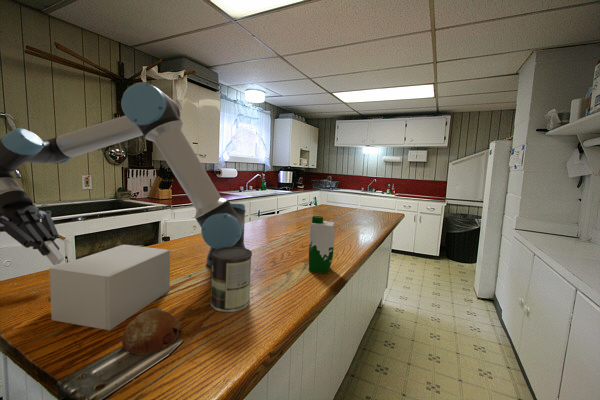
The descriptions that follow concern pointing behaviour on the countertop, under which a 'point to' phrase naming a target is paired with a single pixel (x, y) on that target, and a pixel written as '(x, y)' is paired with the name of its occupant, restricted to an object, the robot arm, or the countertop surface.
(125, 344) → the bread roll
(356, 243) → the countertop surface
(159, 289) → the plain grey box
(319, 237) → the milk carton
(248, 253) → the coffee can
